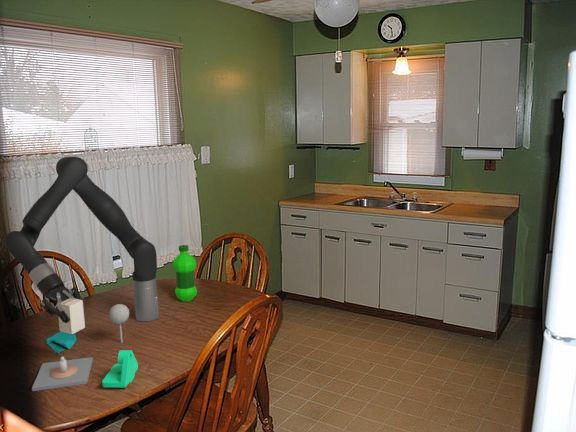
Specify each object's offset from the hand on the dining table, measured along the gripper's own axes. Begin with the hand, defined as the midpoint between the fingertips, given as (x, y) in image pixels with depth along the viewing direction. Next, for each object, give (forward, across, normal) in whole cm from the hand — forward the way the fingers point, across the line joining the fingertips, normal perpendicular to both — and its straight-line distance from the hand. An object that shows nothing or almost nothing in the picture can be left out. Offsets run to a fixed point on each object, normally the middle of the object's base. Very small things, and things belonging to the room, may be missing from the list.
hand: (75, 318), depth 170 cm
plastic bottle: (+11, +63, +12) cm, 65 cm away
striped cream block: (+2, 0, +4) cm, 5 cm away
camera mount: (+26, -3, -3) cm, 27 cm away
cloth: (-2, +12, +26) cm, 29 cm away
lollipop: (+13, +18, +10) cm, 25 cm away
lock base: (+13, -8, +11) cm, 18 cm away
